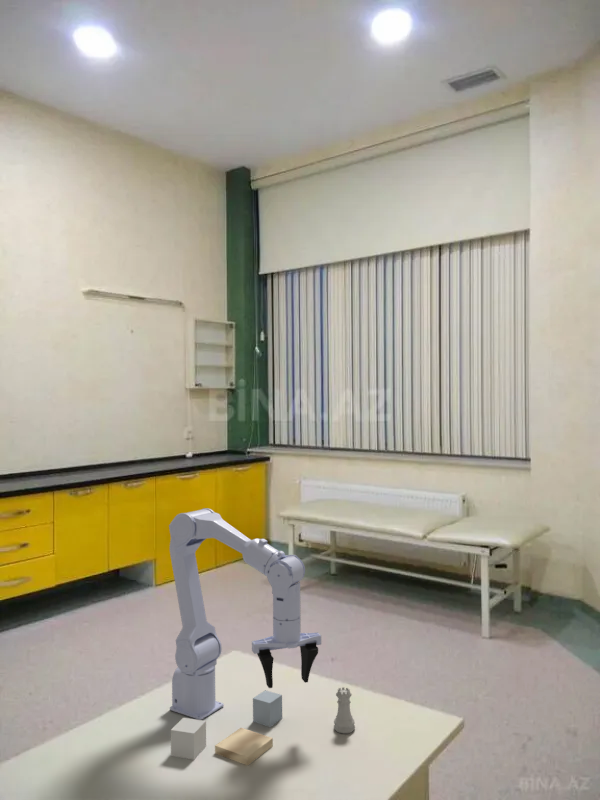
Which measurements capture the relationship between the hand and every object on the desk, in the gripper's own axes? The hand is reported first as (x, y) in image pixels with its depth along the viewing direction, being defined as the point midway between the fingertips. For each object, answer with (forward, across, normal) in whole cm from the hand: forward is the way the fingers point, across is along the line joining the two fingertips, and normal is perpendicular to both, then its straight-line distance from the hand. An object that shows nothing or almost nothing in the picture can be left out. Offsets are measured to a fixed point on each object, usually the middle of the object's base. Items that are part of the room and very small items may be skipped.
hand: (287, 683), depth 124 cm
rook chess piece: (+10, +12, -3) cm, 16 cm away
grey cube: (+10, -20, 0) cm, 23 cm away
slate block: (+10, -2, +7) cm, 12 cm away
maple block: (+11, -10, -3) cm, 15 cm away
